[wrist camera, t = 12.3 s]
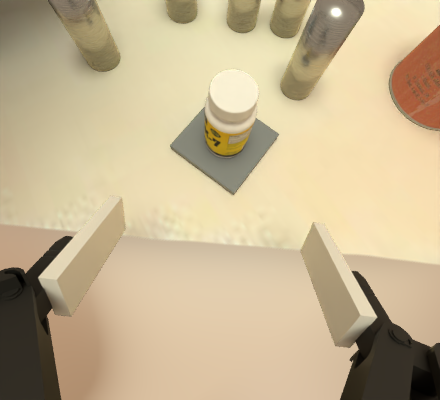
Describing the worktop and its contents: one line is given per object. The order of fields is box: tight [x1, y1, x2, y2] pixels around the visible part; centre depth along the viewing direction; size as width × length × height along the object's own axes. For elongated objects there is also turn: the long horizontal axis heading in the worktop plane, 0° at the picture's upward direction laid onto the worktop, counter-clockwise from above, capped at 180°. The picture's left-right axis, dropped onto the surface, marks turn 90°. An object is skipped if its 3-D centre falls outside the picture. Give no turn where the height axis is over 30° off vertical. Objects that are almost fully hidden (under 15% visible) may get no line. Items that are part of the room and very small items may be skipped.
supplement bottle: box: [204, 69, 259, 158], centre depth 22 cm, size 5×5×8 cm
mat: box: [170, 107, 279, 195], centre depth 26 cm, size 9×9×1 cm
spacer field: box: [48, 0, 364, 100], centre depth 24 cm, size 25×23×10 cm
